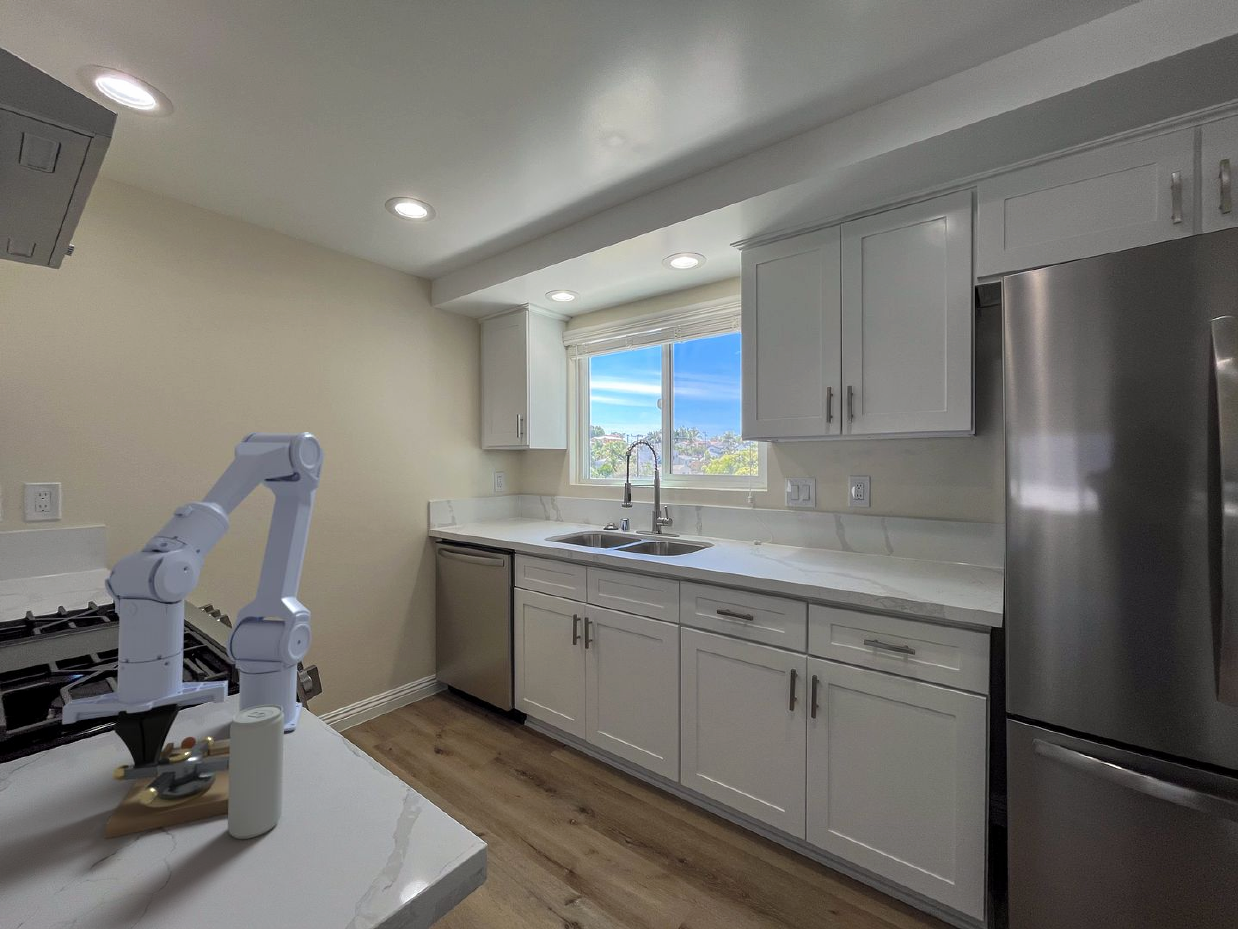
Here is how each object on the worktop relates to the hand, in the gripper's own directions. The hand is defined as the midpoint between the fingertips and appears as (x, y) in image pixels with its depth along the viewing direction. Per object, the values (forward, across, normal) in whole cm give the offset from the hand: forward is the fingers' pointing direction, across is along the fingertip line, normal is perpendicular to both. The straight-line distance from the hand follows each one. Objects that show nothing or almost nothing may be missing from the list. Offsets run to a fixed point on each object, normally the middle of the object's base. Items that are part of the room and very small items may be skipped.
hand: (148, 772), depth 62 cm
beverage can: (+3, +12, -11) cm, 17 cm away
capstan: (+1, +4, -3) cm, 5 cm away
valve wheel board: (+3, +5, +1) cm, 6 cm away
